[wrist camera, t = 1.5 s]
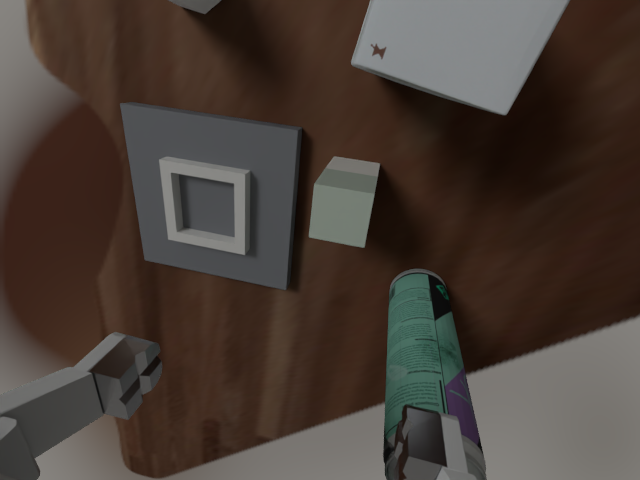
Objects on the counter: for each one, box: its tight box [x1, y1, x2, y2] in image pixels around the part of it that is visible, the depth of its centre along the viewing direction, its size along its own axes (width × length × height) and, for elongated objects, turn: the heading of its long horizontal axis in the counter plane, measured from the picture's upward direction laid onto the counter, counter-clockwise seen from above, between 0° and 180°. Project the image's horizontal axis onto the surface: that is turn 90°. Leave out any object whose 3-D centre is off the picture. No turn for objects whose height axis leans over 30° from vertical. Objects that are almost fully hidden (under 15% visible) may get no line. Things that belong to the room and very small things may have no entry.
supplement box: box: [351, 0, 570, 115], centre depth 18 cm, size 7×7×13 cm
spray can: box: [383, 269, 487, 480], centre depth 25 cm, size 6×6×20 cm
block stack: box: [309, 156, 380, 248], centre depth 27 cm, size 4×4×8 cm
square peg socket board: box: [120, 102, 302, 290], centre depth 32 cm, size 16×16×3 cm
